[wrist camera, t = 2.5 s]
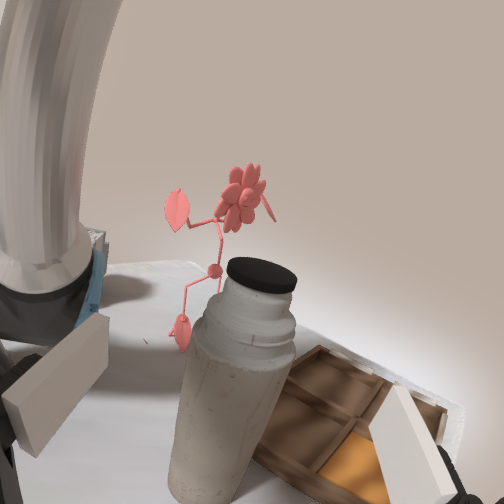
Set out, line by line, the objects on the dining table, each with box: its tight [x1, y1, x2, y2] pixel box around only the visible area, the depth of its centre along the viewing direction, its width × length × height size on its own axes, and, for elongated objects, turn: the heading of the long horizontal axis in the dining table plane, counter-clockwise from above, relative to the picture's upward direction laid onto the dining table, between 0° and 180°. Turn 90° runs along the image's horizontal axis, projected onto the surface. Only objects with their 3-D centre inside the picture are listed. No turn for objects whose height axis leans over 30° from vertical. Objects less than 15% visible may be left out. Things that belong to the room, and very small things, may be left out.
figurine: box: [144, 163, 276, 353], centre depth 55 cm, size 15×26×35 cm, turn 145°
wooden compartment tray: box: [252, 345, 448, 504], centre depth 43 cm, size 31×31×4 cm
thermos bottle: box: [168, 257, 297, 504], centre depth 25 cm, size 8×8×28 cm
